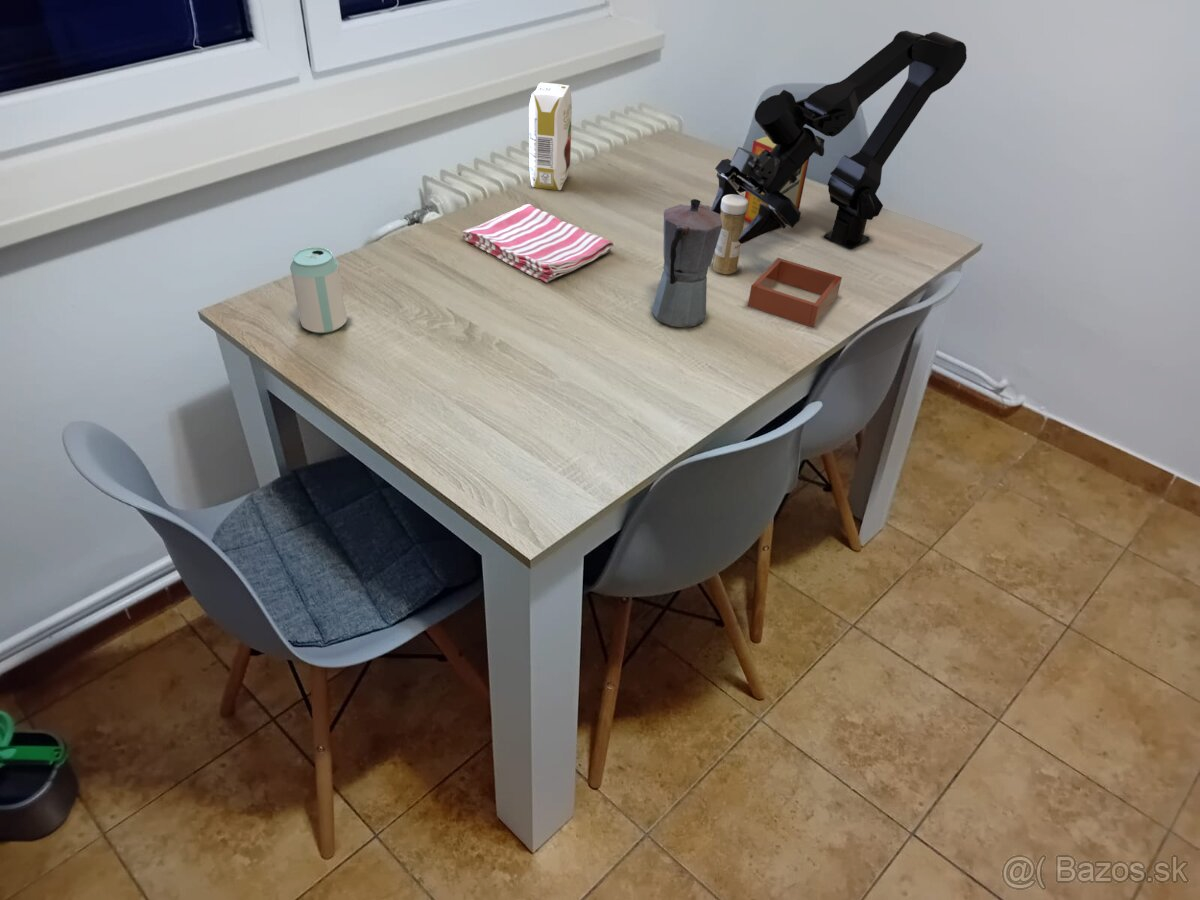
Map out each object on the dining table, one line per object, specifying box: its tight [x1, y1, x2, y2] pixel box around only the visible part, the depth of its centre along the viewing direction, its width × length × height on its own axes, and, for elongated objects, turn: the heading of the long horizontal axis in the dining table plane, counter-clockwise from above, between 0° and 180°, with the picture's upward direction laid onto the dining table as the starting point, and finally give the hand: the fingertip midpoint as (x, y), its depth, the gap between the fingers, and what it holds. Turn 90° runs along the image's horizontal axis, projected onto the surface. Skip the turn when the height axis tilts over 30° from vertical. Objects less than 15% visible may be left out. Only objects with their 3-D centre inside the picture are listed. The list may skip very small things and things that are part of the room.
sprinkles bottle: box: [712, 194, 748, 275], centre depth 159 cm, size 5×5×14 cm
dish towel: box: [461, 203, 615, 283], centre depth 166 cm, size 17×23×4 cm
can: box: [289, 246, 348, 334], centre depth 140 cm, size 7×7×12 cm
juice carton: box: [528, 81, 573, 191], centre depth 182 cm, size 8×9×19 cm
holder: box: [747, 257, 843, 328], centre depth 155 cm, size 12×12×4 cm
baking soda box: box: [744, 135, 810, 224], centre depth 175 cm, size 10×6×16 cm
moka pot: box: [651, 198, 722, 328], centre depth 144 cm, size 10×15×20 cm, turn 161°
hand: (723, 230), depth 158 cm, fingers open, 9 cm apart
